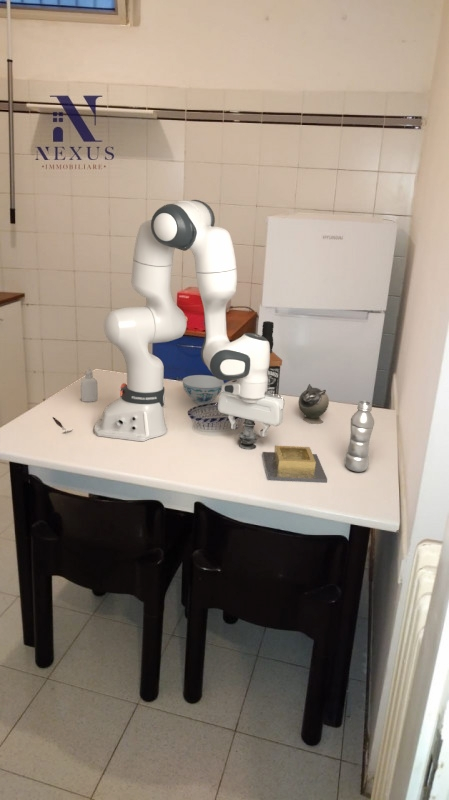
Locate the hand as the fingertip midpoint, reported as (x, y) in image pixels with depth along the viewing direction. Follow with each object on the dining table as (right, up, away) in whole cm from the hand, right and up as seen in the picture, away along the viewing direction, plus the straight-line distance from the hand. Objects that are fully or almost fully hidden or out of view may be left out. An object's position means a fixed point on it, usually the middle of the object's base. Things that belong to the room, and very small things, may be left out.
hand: (248, 432), depth 172 cm
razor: (-58, +1, +8) cm, 59 cm away
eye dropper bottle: (-55, +9, +31) cm, 64 cm away
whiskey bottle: (+6, +6, +32) cm, 33 cm away
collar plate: (+12, -9, -11) cm, 19 cm away
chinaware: (-15, +9, +38) cm, 42 cm away
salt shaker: (0, -4, +2) cm, 5 cm away
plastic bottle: (+30, -10, -9) cm, 33 cm away
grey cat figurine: (+23, +3, +26) cm, 35 cm away
